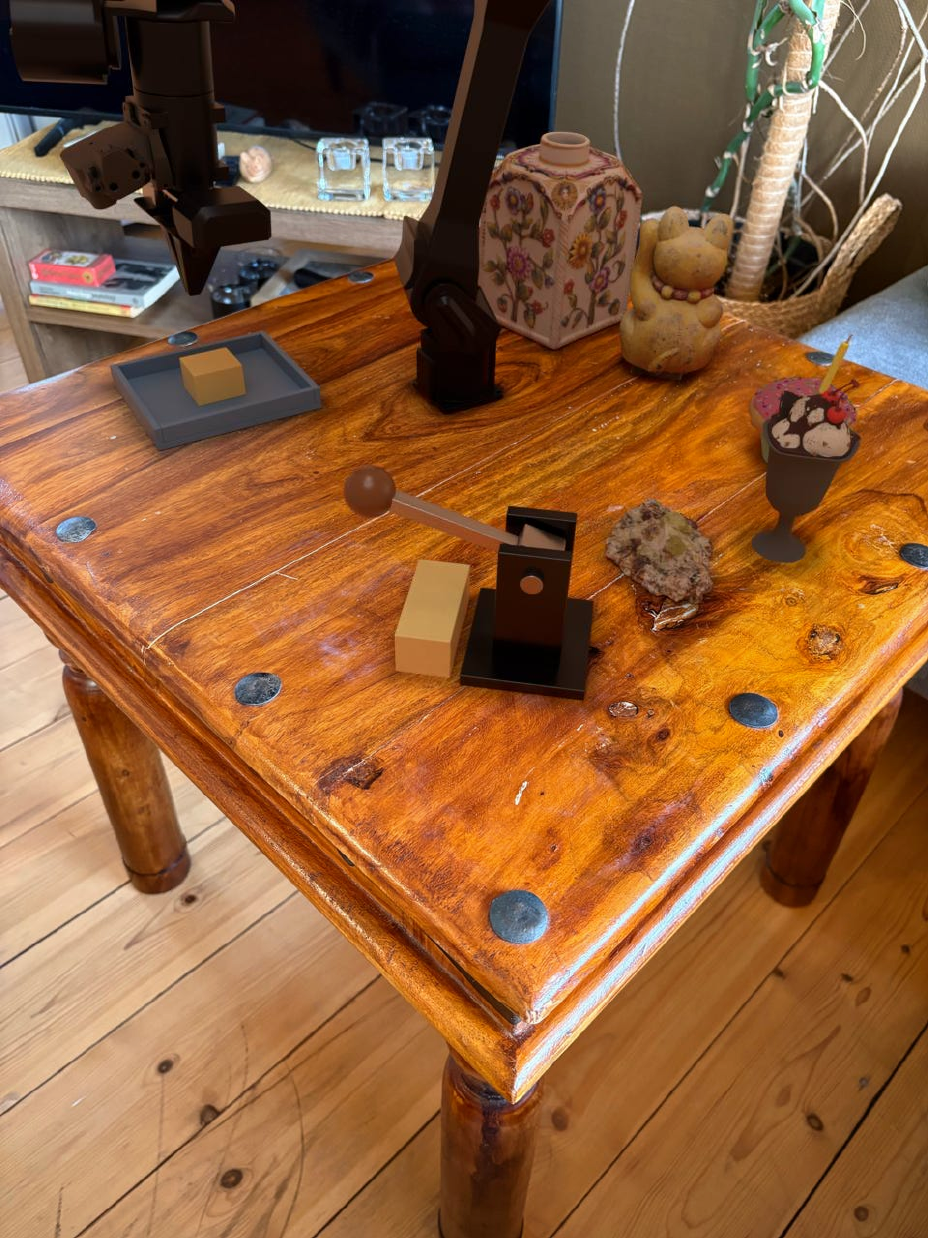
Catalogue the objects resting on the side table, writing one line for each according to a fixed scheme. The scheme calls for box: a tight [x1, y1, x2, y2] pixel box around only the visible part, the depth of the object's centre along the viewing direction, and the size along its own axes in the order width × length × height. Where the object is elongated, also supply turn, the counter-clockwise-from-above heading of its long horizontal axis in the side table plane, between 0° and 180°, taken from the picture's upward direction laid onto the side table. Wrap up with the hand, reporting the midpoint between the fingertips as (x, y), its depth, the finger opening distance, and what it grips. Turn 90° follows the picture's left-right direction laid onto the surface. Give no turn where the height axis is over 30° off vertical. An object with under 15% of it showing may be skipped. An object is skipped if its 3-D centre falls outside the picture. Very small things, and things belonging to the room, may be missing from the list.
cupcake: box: [748, 333, 859, 464], centre depth 81 cm, size 9×8×12 cm
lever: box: [343, 464, 566, 554], centre depth 61 cm, size 14×3×3 cm, turn 81°
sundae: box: [751, 378, 862, 564], centre depth 71 cm, size 7×7×15 cm
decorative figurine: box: [619, 205, 734, 382], centre depth 92 cm, size 10×8×15 cm
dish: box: [109, 330, 323, 452], centre depth 91 cm, size 15×13×2 cm
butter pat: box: [179, 347, 246, 406], centre depth 90 cm, size 4×4×3 cm
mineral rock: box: [605, 498, 714, 605], centre depth 73 cm, size 11×4×8 cm
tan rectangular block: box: [394, 558, 471, 679], centre depth 66 cm, size 8×4×4 cm, turn 171°
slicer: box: [459, 505, 595, 702], centre depth 64 cm, size 8×9×10 cm
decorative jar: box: [478, 131, 643, 351], centre depth 100 cm, size 12×12×18 cm
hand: (193, 293), depth 82 cm, fingers closed
